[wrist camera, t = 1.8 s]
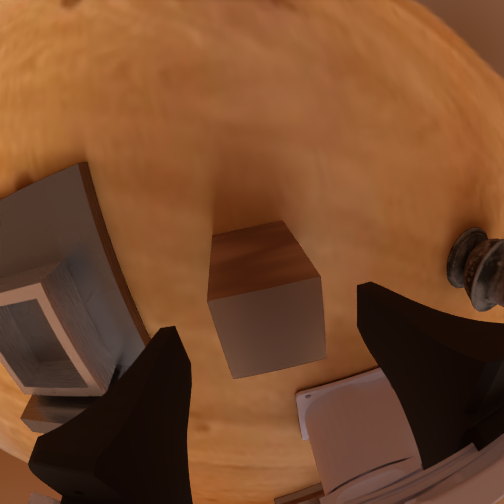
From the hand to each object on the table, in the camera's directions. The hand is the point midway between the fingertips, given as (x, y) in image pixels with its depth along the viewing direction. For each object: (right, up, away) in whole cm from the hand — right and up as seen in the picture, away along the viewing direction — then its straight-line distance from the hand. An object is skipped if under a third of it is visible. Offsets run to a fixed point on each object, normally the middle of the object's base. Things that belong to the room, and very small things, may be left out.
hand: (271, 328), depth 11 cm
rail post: (-1, +2, +6) cm, 7 cm away
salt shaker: (+17, +3, +8) cm, 19 cm away
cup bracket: (-15, -2, +6) cm, 16 cm away
